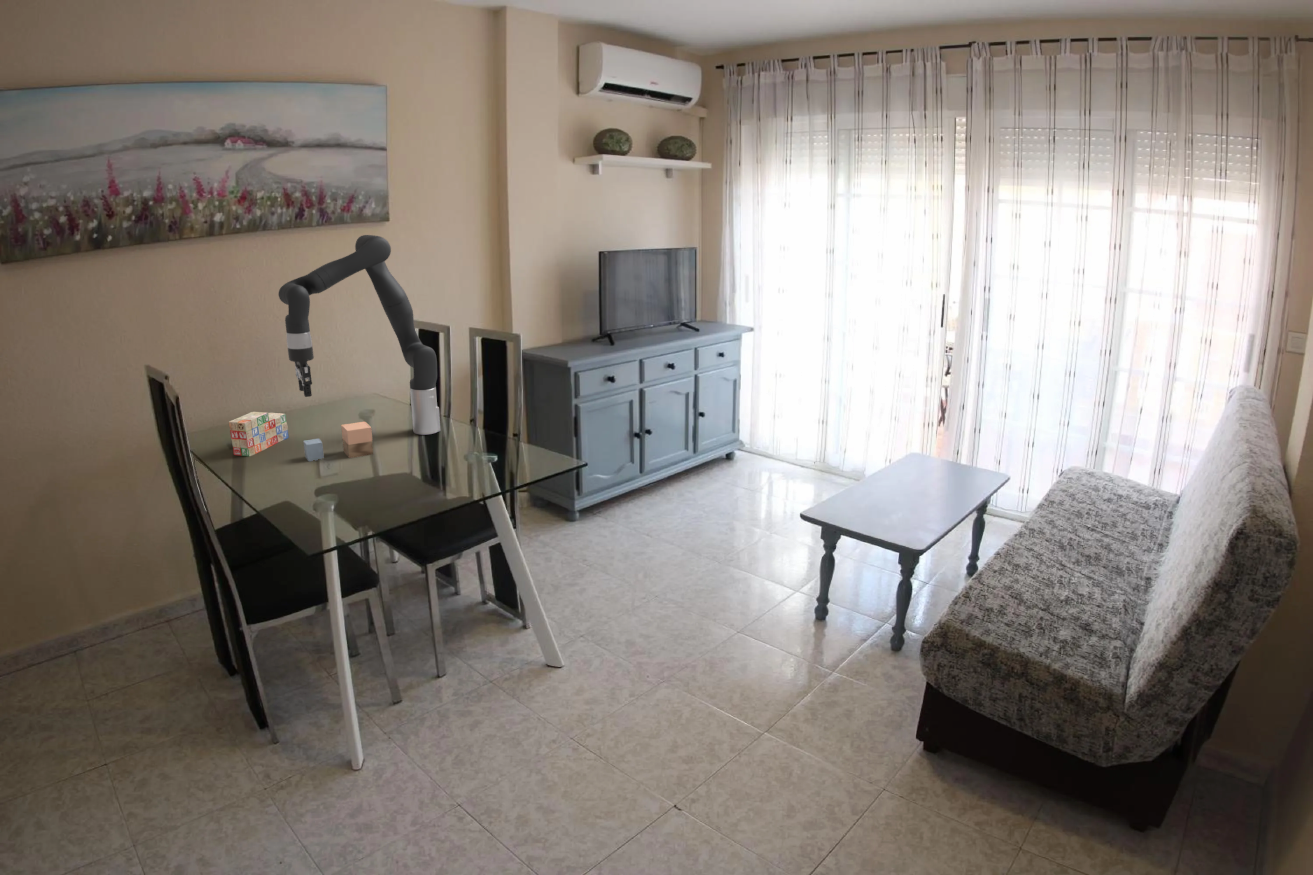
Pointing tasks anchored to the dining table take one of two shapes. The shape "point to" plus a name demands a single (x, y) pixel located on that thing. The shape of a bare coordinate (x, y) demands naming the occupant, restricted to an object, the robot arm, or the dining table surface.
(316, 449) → the slate block
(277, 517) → the dining table surface
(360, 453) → the tower base
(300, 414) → the dining table surface
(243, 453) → the stack of blocks
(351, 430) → the tower top
